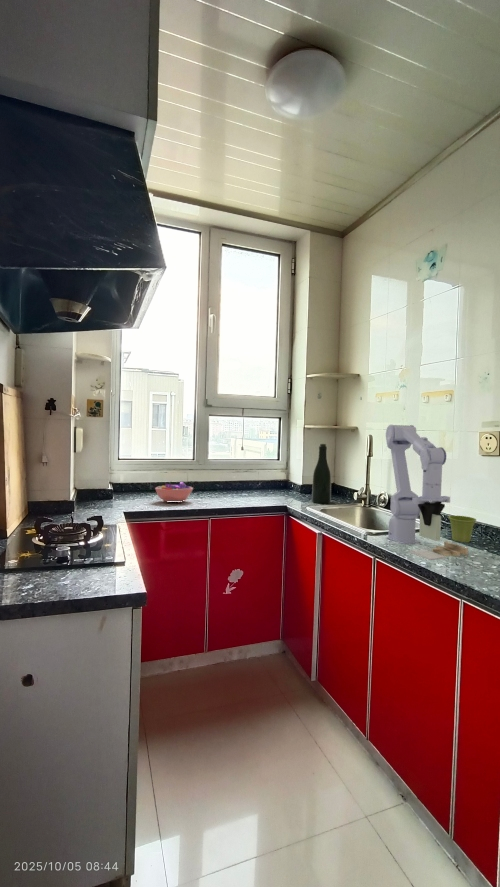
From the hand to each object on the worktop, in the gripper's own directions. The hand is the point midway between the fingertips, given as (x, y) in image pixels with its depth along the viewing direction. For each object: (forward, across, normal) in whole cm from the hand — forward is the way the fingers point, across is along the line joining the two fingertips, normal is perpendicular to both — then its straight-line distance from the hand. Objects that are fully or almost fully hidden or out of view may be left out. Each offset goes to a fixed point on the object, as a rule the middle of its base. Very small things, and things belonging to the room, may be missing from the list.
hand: (430, 524), depth 141 cm
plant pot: (+10, +27, +11) cm, 31 cm away
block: (+4, 0, 0) cm, 5 cm away
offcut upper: (+10, +6, 0) cm, 11 cm away
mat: (+10, -1, 0) cm, 10 cm away
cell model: (+10, -59, +118) cm, 133 cm away
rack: (+10, +10, 0) cm, 14 cm away
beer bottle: (+10, +20, +98) cm, 100 cm away
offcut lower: (+11, +6, 0) cm, 12 cm away
